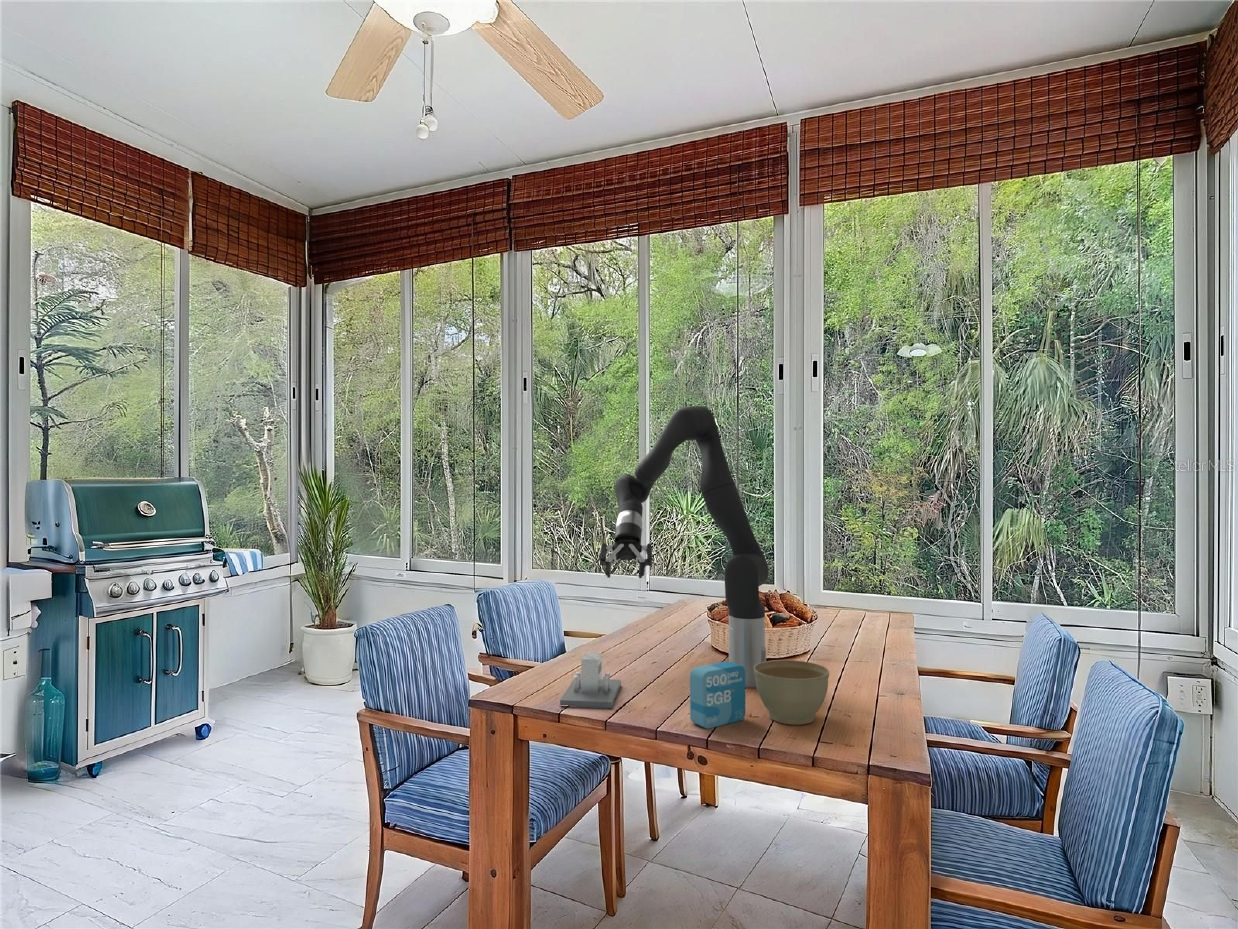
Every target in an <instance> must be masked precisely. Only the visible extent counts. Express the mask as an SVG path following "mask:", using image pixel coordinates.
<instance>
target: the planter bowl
mask: <svg viewBox="0 0 1238 929" xmlns="http://www.w3.org/2000/svg"><path fill="white" fill-rule="evenodd" d="M754 673H755V681H756V687H755V688H756V690H757V692H758V693H757V694H758V696H759V699H760V700H761V702H762V704H763V705H764V707H765V708H766V710H767V711H768V715H769V717H770V719H771V720H772V721H775V722H777V723H779V724H780V723H781V724H784V725H793V726H796V725H807V724H810V723H812V722H814V721H815V717H816V714H817V713H818V712H819V711H820V709H821V707H822V706H823V703H825V702H824V701H825V698H826V697H827V696H826V695H827V693H828V688H829V678H830V670H829V668H827V667H826V666H824V665H821V664H819V663H814V662H810V661H803V660H795V659H794V660H792V659H790V660H789V659H776V660H769V661H767V660H766V662H762V663H759V664H756V665H755V666H754Z"/></svg>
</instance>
